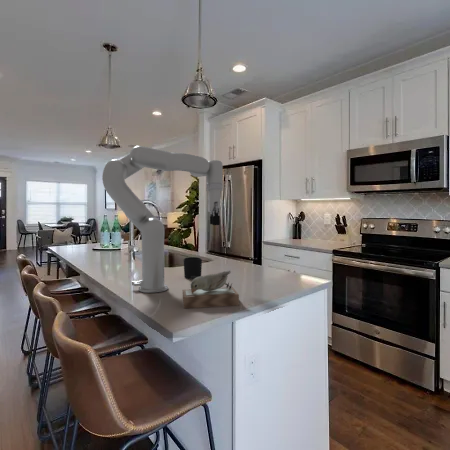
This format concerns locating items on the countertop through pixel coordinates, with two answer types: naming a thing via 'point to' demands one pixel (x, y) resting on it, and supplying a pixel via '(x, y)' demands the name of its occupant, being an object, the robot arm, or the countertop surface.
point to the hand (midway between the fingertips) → (214, 224)
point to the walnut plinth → (210, 298)
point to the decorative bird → (210, 282)
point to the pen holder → (192, 267)
